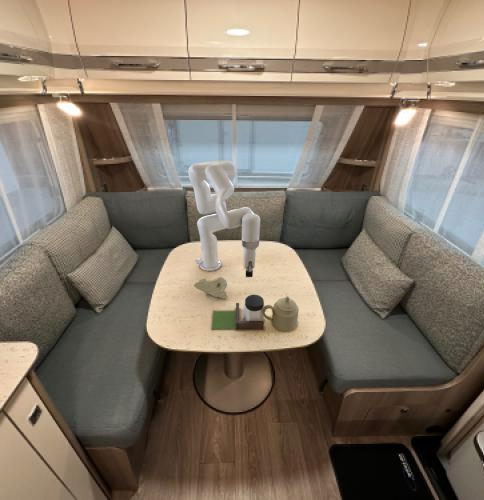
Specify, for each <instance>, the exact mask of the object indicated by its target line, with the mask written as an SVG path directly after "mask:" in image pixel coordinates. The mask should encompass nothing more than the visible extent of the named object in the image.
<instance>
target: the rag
mask: <svg viewBox="0 0 484 500" xmlns="http://www.w3.org/2000/svg"><path fill="white" fill-rule="evenodd" d="M211 330H236V310H213V316H212V324H211Z"/></svg>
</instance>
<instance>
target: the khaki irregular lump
mask: <svg viewBox="0 0 484 500" xmlns="http://www.w3.org/2000/svg"><path fill="white" fill-rule="evenodd" d="M193 287H194V288H195V289H197V290H199V291H201V292H203V293H204V294H205V295H210V296H212V297H213V298H217V299H222V300H227V299H228V294H227V291H226V289H227V287H228V281H227V280H226V278H224V277H222V276H220V277H217V278H215V279H213V280H211V279H210V280H207V279H206V277H204V278H202V279H199V280H198V281H197V282H195V283H194V284H193Z"/></svg>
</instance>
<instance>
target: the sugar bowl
mask: <svg viewBox="0 0 484 500" xmlns="http://www.w3.org/2000/svg"><path fill="white" fill-rule="evenodd" d="M268 309H270V310H271V313H272V316H269V315H267V314H266V311H267V310H268ZM299 311H300V310H299V306H298V305H297V303H296V301H295V300H294V299H292V298H290V297H289V296H288V295H286V296H285V297H281V298H279V299H278V300H277V301H276V302H274V304H273V306H272V305H271V304H266V305H265V306H264V308H263V315H264V319H266V320H268V321H270V322H272V325H273V326H274V328H276V329H277V330H279V331H282V332H290V331H293V330H294V329H296V327H297V324H298V319H299Z"/></svg>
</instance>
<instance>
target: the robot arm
mask: <svg viewBox="0 0 484 500" xmlns="http://www.w3.org/2000/svg"><path fill="white" fill-rule="evenodd" d="M187 171H188V173H187V174H188V175H187V176H188V179H189V182H190V183H191V186H192V188H193V193H194V198H195V204H196V209H197V212H198V213H199V214H200V215H205V216H202V217H200V218H199V219H198V220H197V222H196V226H197V231H198V234H199V241H200V253H201V257H199V258H194V262H195V263H196V265H199V268H200V269H201V270H203V271H206V272H215V271H216V270H219V269H220V268H221V266H222V262H221V261H220V259H219V251H218V250H219V249H218V238H217V236H216V235H215V234H214V233H216V232H219V231H222V230H225V229H228V230H232V229H237V228H239V227H241V246H242V248H243V251H242V252H243V254H242V255H243V257H242V262H243V263H242V264H243V265H242V266H243V269H245V278H253V276H254V269H255V268H256V256H257V249H258V248H259V246H260V236H261V235H260V234H261V217H260V216H259V215H258V214H256V213H255V212H254V211H253V210H252V209H251V208H250V207H248V206H244V207H239V208H235V209H231V210H228V209H227V202H226V200H227V199H229V198H230V197H231V196H232V195H233V194H234V192H235V186H234V184H233V183H232V179H234V178H235V177H236V175H237V168H236V166H235V165H234V163H233V162H232V161H229V160H221V159H219V160H218V159H217V160H209V161H203V162H197V163H193V164H191V165H190V166H189V167H188V170H187ZM207 180H208V182H209V183H208V182H207ZM209 184H210V185H211V186H210V185H209ZM211 187H212V189H213V191H214V193H212V192H211ZM212 213H213V214H212ZM207 214H208V215H207Z"/></svg>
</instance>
